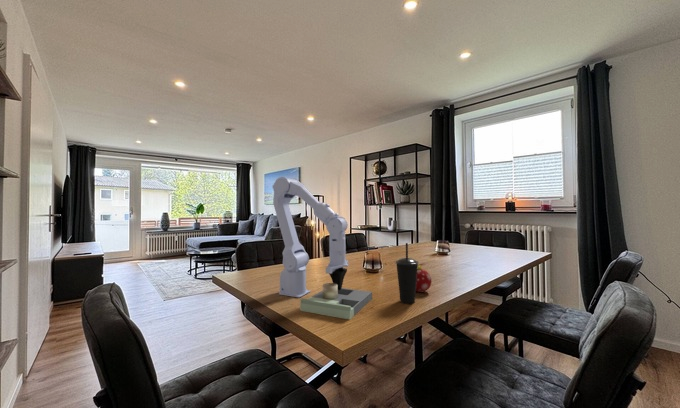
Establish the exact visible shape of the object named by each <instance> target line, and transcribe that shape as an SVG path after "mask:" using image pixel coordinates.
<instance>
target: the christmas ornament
mask: <svg viewBox="0 0 680 408" xmlns="http://www.w3.org/2000/svg"><path fill="white" fill-rule="evenodd" d="M431 286H432V277H431V275H430V273H429V272H428V271H426V270H425V269H422V266H421V265H419V264H418V267H417V280H416V292H417V293H424V292H426V291H428V290H429V289H430V288H431Z"/></svg>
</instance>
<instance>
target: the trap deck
mask: <svg viewBox="0 0 680 408" xmlns="http://www.w3.org/2000/svg"><path fill="white" fill-rule="evenodd" d="M372 299H373V291H371V290H370V291H368V290H362V289H355V288H354V289H353V288H346V287H342V288H341V290H338V298H336V299H331V300H328V299H324V298H323V289H322V290H320V291H319V292H317V293H315V294H314V295H312V296H310V297H309V298H300V301H299V302H300V303H299V304H300V309H299V311H301V312H306V313H310V314H311V313H312V314H317V315H323V316H327V317H332V318H333V317H334V318H340V319H345V320H351V319H352V318H354V317H355V316H356V315H357V314H358V313H359V312H360V311H361V310H362V309H363V308H364V307H365V306H367V304H368V303H369V302H370V301H371V300H372Z"/></svg>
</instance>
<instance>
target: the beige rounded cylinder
mask: <svg viewBox="0 0 680 408" xmlns="http://www.w3.org/2000/svg"><path fill="white" fill-rule="evenodd" d="M322 290H323V298H324V299H328V300H331V299H336V298H338V285H337V284H335V283H333V282H326V283H324V284H322Z"/></svg>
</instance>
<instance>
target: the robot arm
mask: <svg viewBox="0 0 680 408" xmlns="http://www.w3.org/2000/svg"><path fill="white" fill-rule="evenodd" d="M272 189H273V199H272V200H273V202H272V203H273V207H274V211H275V215H276V218H277V221H278V225H279V230H280V233H281V236H282V240H283V244H284V248H283V250H282V252H281V253H282V265H283V267H284V269H282V271H281V272H280V275H279V292H278V295H280V296H288V297H291V298H292V297H294V298H301V297H304V296H305V295H308V294H309V293H311V289H307V274H306V273H307V265H308V264H309V262H310V256H309V254H308V253H307V252H306V250H305V246H303V245H302V244H301V243H300V240H299V238H298V233H297V230H296V226H295V223H294V220H293V215H292V212H291V208H290V206H289V204H290V202H291V201H292V199H294V198H295V197H296V196H297V197H299V198H300V200H302V201H303V202H305V203H306V204H307V205H308V206H310V208H312V210H313V215H314V216H315V217H316V218H317V219H318V220H319V221H320V222H321V223H323V224H324V225H325V227H326V228H325V229H326V230H327V232H328V234H329V240H328V241H329V263H328V265H327V266H326V267H325V274H329V276H330V278H331V281H332V283H335V284H337V285H338V290H341V288H343V284H344V279H345V276H346V273H347V272H348V268H347V267H350V265H349V259H346V256H347V255H346V254H347V253H346V250H347V249H346V248H347V247H346V230H347V229H348V226H349V225H348V222H347V220H346V219H345V217H343V216H339V215H340V214H339V213H338V212H335V211H334V210H333V209H332V208H331V207H330V206H331V205H330V204H329V203H325V202H320V201H319V200H318V199H317V198H316V197H315V196H314V195H313V194H312V193H311V192H310V191H309V190H308V189H307V188H306V186H305V185H304V183H302V182H301V181H299V180H298V179H296V178H289V177H285V176H279V177H277V178H276V180H275V181H274V183H273V185H272Z"/></svg>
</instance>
